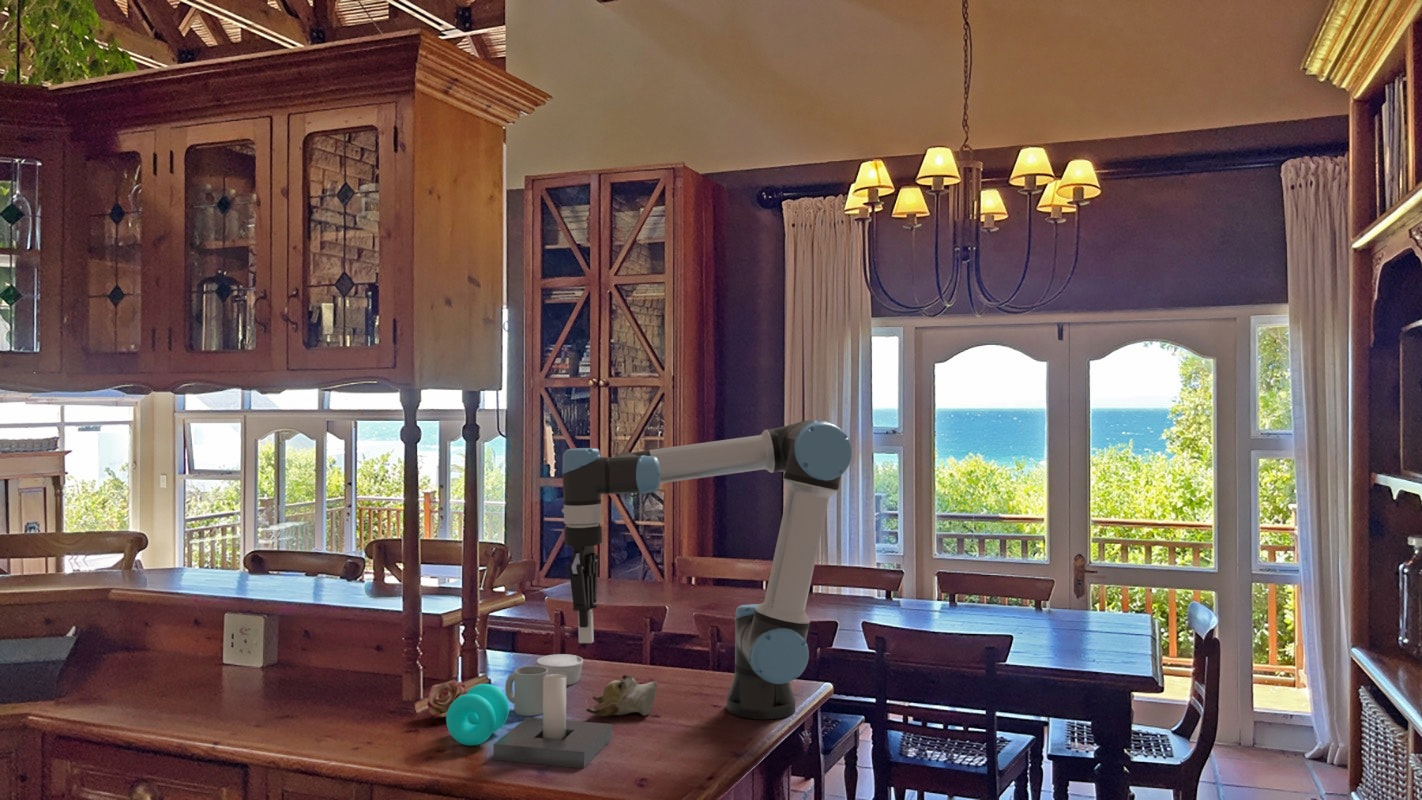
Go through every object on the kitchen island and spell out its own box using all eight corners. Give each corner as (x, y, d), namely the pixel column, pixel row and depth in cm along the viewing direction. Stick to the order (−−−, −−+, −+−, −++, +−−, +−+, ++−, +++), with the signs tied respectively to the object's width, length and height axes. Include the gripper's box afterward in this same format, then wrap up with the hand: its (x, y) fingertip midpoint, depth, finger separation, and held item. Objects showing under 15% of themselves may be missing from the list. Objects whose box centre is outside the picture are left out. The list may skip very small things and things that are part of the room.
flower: (434, 702, 212) (424, 680, 207) (473, 693, 212) (464, 671, 208) (432, 736, 204) (422, 714, 200) (472, 727, 205) (463, 705, 201)
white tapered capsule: (569, 746, 189) (569, 674, 189) (560, 754, 185) (561, 680, 185) (547, 744, 190) (548, 673, 190) (539, 752, 186) (539, 679, 186)
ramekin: (585, 686, 230) (585, 664, 230) (537, 689, 227) (537, 667, 227) (580, 674, 241) (580, 652, 241) (535, 676, 238) (535, 655, 238)
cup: (537, 718, 206) (537, 676, 206) (496, 712, 210) (497, 671, 210) (553, 708, 213) (554, 667, 213) (514, 703, 216) (514, 663, 217)
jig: (611, 739, 194) (611, 724, 194) (584, 768, 178) (584, 751, 178) (527, 732, 197) (527, 717, 197) (493, 759, 182) (493, 743, 182)
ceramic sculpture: (654, 680, 204) (584, 683, 205) (656, 721, 204) (586, 724, 205) (658, 667, 215) (591, 670, 215) (660, 706, 215) (593, 709, 215)
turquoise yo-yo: (443, 746, 189) (443, 694, 189) (464, 729, 199) (465, 680, 199) (491, 749, 188) (492, 697, 188) (511, 732, 197) (511, 683, 197)
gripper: (575, 520, 202) (578, 633, 202) (554, 529, 189) (557, 650, 189) (610, 520, 200) (613, 634, 200) (590, 529, 187) (594, 650, 187)
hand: (586, 642), depth 195 cm, fingers closed
